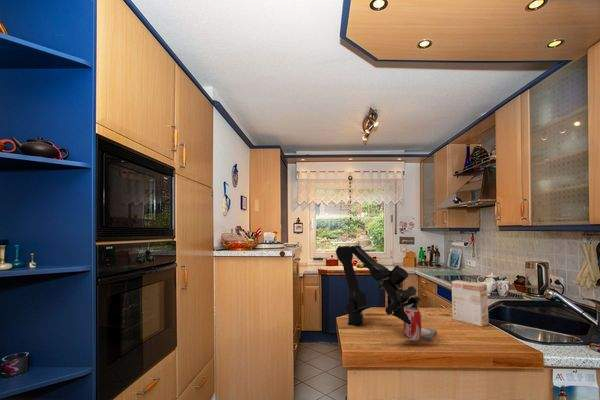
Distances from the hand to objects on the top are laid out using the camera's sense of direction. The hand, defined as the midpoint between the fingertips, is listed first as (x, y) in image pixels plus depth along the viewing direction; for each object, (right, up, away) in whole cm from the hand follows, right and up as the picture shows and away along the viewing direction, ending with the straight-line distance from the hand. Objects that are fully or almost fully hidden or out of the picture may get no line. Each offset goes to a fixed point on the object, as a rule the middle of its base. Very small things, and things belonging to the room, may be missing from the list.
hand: (415, 322), depth 141 cm
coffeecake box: (+37, -10, +27) cm, 47 cm away
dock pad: (+6, -9, +11) cm, 15 cm away
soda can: (-1, -7, +1) cm, 7 cm away
